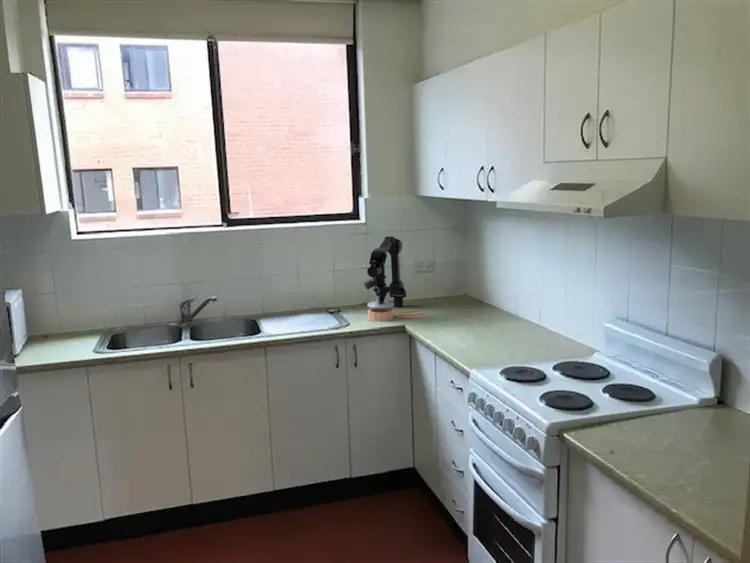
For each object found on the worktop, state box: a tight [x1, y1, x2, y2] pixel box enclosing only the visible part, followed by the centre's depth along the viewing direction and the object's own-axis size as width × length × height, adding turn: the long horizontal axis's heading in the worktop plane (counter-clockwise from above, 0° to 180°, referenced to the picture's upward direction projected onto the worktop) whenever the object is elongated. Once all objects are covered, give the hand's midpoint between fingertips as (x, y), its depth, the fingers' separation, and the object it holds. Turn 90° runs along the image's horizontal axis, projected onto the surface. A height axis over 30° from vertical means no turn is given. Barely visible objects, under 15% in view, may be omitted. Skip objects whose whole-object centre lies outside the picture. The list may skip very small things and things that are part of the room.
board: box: [393, 309, 430, 321], centre depth 341 cm, size 16×16×1 cm
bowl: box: [367, 307, 394, 322], centre depth 336 cm, size 13×13×5 cm
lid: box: [367, 295, 394, 309], centre depth 334 cm, size 14×14×5 cm
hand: (380, 302), depth 334 cm, fingers closed on lid, 3 cm apart
